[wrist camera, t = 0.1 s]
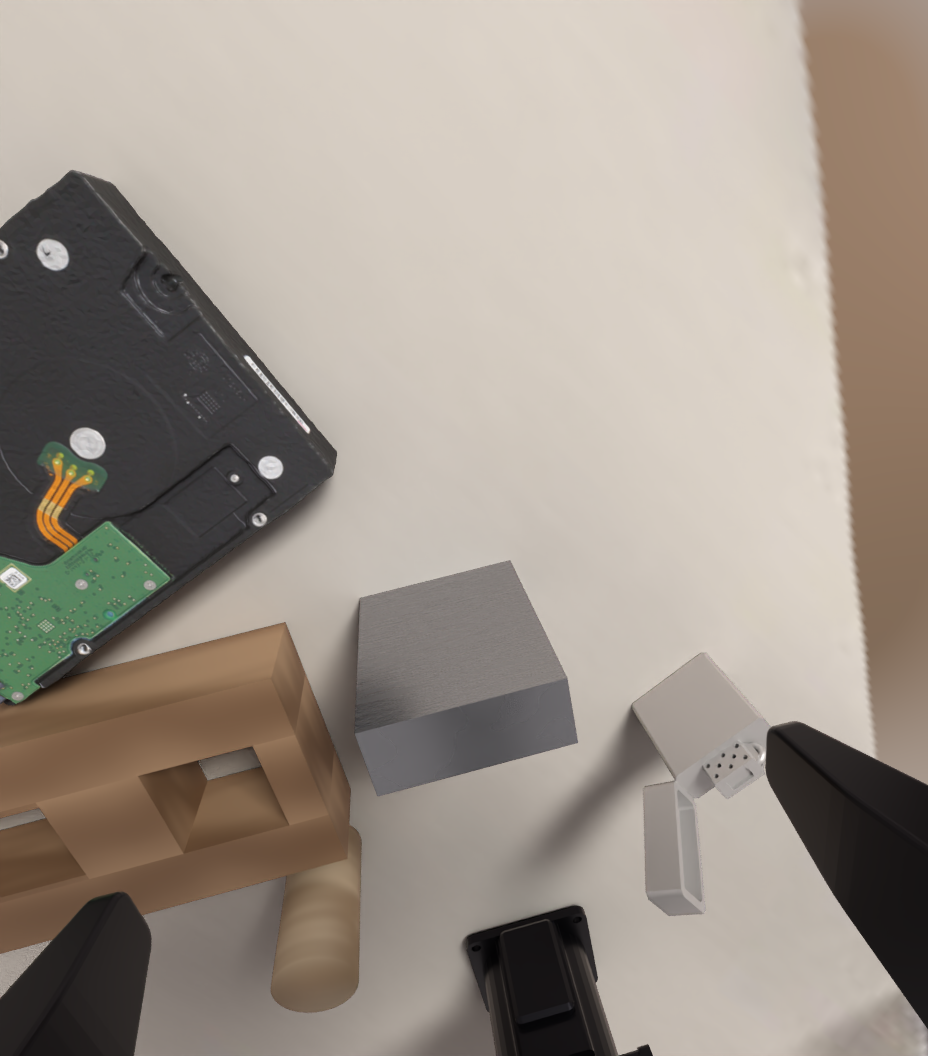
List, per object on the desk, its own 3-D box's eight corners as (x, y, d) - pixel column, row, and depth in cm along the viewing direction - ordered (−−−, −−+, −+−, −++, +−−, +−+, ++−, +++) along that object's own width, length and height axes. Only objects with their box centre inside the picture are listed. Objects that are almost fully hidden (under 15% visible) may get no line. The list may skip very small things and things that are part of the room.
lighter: (704, 650, 26) (831, 794, 19) (722, 673, 27) (852, 819, 20) (578, 743, 27) (653, 913, 20) (599, 763, 28) (678, 934, 21)
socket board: (350, 789, 26) (347, 858, 23) (-81, 904, 26) (-145, 993, 22) (285, 622, 23) (271, 678, 20) (-221, 749, 22) (-322, 830, 19)
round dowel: (369, 859, 28) (368, 998, 23) (303, 877, 28) (287, 1021, 23) (350, 812, 27) (344, 948, 22) (281, 831, 27) (258, 972, 21)
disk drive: (110, 174, 17) (-234, 477, 19) (65, 154, 15) (-330, 509, 16) (344, 449, 21) (44, 679, 23) (341, 471, 19) (3, 729, 20)
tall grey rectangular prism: (520, 611, 24) (577, 742, 17) (376, 648, 24) (377, 796, 17) (510, 560, 23) (567, 677, 16) (359, 597, 23) (354, 733, 16)
